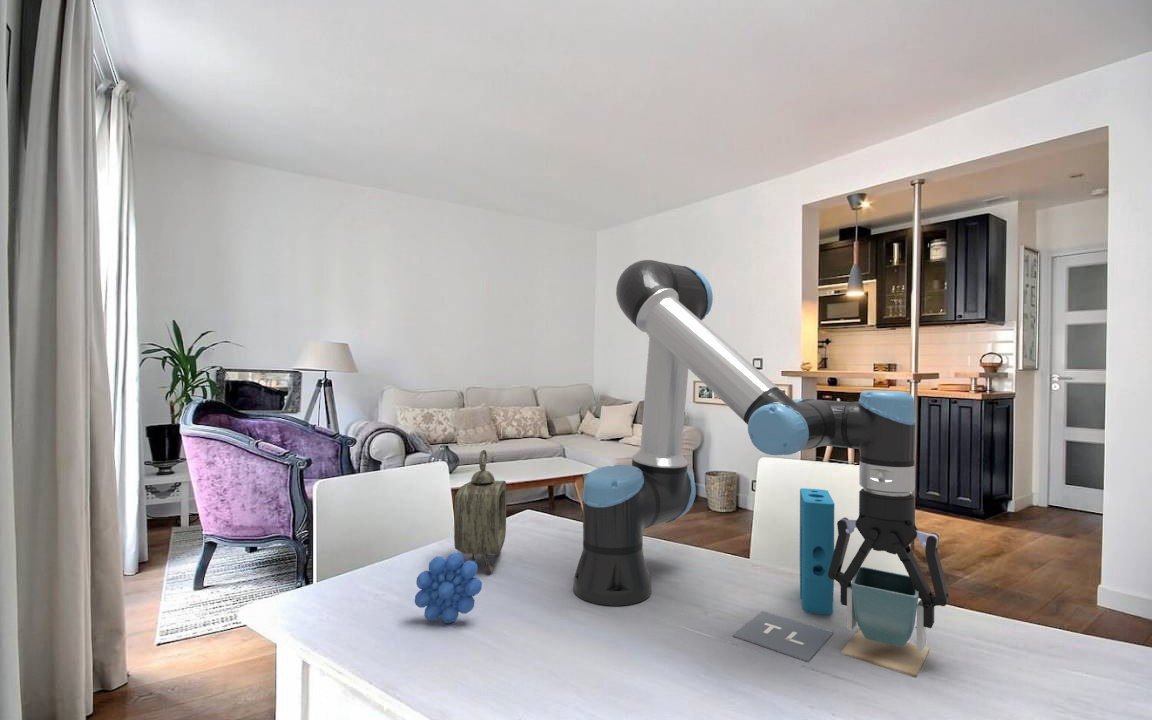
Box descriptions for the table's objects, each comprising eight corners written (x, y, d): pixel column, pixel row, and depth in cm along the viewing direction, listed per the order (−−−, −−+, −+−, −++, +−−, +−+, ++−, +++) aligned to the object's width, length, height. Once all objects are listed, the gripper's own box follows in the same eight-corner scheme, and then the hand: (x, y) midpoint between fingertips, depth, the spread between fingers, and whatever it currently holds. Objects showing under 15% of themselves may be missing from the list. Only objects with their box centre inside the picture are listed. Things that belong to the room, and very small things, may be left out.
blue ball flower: (487, 613, 101) (488, 545, 101) (478, 631, 94) (478, 558, 94) (423, 610, 102) (424, 543, 102) (409, 628, 95) (409, 555, 95)
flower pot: (917, 658, 82) (918, 596, 82) (850, 642, 87) (850, 583, 87) (919, 634, 89) (919, 577, 89) (856, 619, 94) (857, 565, 94)
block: (834, 619, 99) (835, 504, 99) (803, 615, 101) (804, 502, 101) (826, 593, 110) (827, 489, 110) (799, 589, 112) (799, 488, 112)
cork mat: (841, 653, 87) (841, 651, 87) (859, 630, 95) (859, 628, 95) (916, 677, 81) (916, 675, 81) (929, 650, 89) (929, 648, 89)
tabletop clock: (496, 577, 117) (497, 456, 117) (452, 576, 118) (453, 455, 118) (505, 553, 132) (506, 445, 132) (467, 553, 132) (467, 445, 132)
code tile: (732, 636, 93) (732, 634, 93) (762, 612, 102) (762, 610, 102) (808, 662, 85) (808, 660, 85) (833, 633, 94) (833, 631, 94)
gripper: (806, 484, 92) (805, 623, 92) (967, 507, 78) (966, 671, 78) (821, 477, 98) (820, 608, 98) (974, 497, 84) (973, 650, 84)
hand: (885, 636), depth 88 cm, fingers open, 9 cm apart
